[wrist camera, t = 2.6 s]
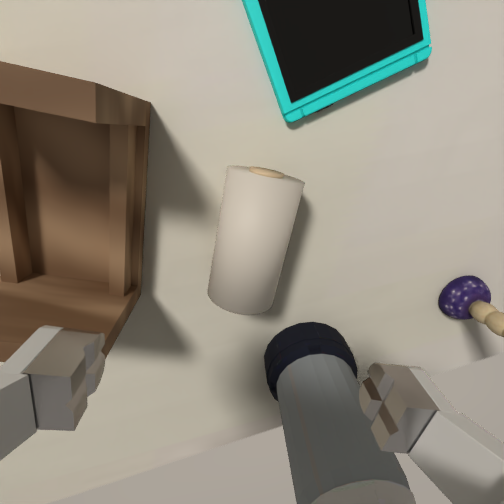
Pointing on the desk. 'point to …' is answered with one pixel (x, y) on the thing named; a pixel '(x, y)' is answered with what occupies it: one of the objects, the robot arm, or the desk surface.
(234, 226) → the roll
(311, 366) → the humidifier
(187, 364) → the desk surface
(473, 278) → the toy lamp
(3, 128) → the holder
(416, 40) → the handheld game console
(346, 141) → the desk surface
